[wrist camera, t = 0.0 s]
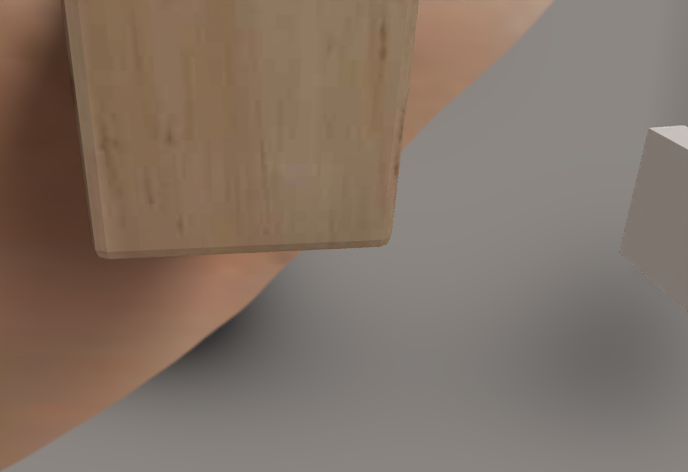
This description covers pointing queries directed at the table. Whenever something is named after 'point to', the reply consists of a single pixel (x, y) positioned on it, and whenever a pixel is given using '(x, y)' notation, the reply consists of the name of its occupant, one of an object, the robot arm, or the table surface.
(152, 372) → the table surface
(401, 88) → the wooden block
